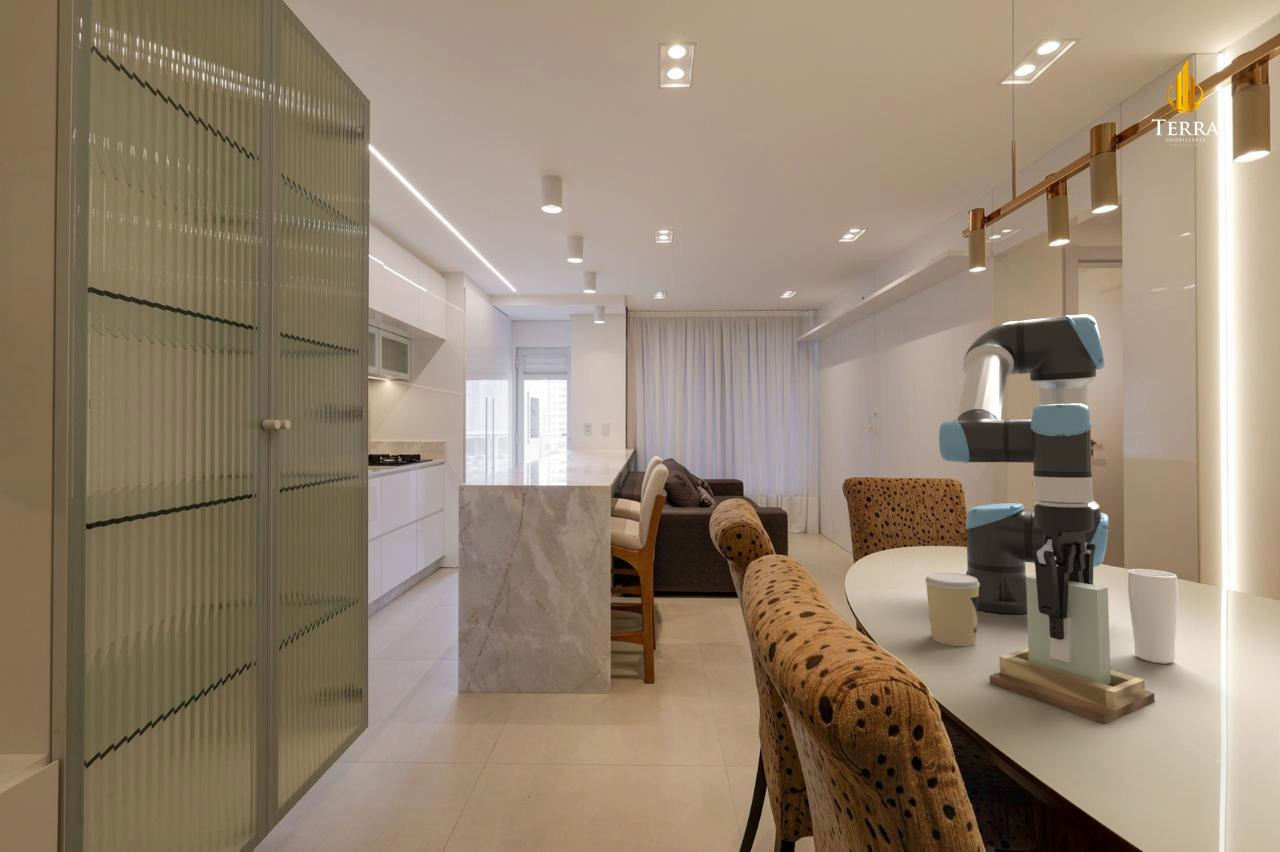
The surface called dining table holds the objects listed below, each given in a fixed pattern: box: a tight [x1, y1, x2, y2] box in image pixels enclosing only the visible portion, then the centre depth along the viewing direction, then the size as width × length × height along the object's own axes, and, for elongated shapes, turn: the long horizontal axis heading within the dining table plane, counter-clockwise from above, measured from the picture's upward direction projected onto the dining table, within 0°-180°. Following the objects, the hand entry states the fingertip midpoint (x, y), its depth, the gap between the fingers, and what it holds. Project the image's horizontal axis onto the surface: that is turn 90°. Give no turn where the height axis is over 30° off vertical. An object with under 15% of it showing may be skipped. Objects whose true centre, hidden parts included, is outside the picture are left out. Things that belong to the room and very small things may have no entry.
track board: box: [989, 647, 1155, 725], centre depth 93 cm, size 14×16×4 cm
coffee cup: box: [925, 572, 980, 647], centre depth 118 cm, size 9×9×12 cm
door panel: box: [1026, 574, 1112, 685], centre depth 93 cm, size 3×10×14 cm, turn 28°
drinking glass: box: [1126, 568, 1179, 665], centre depth 106 cm, size 7×7×15 cm
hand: (1067, 656), depth 93 cm, fingers closed on door panel, 3 cm apart
